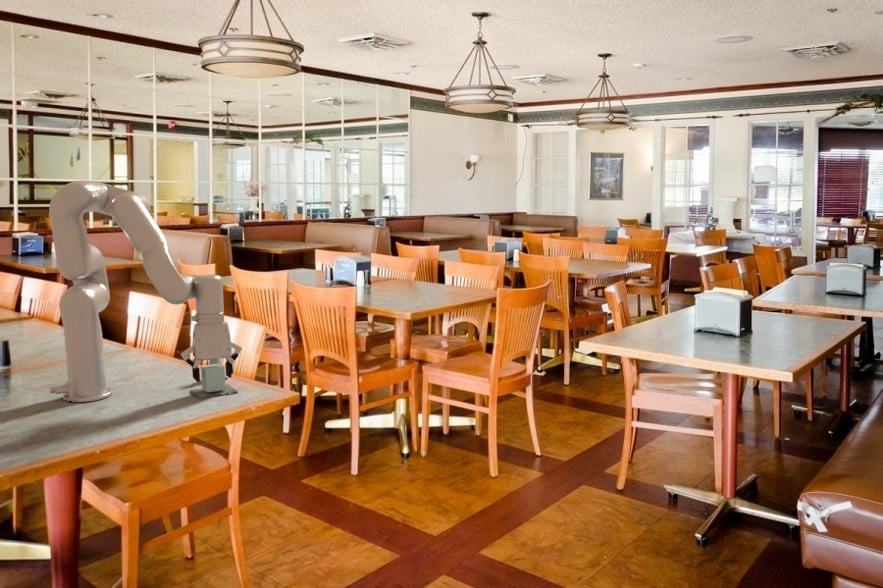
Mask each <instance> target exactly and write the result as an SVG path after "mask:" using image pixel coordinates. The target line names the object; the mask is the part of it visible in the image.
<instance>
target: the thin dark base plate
mask: <svg viewBox="0 0 883 588" xmlns="http://www.w3.org/2000/svg"><path fill="white" fill-rule="evenodd" d="M189 391H190V393H191V394H192V395H194V396H195V397H196V398H197V399H198V400H202V399H207V398H208V399H209V398H213V396H215V397H219V396H218V395H222V396H224V395H223V394H229V393H236V394H239V393H238V392H239V391H237V390H236V389H235V388H233V387H232V386H231V385H229V384H225V390H220V391H213V392H206V391H205V390H203V389H202V387H201V388H195V389H190V390H189ZM229 395H230V394H229Z"/></svg>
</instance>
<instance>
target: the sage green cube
mask: <svg viewBox="0 0 883 588" xmlns="http://www.w3.org/2000/svg"><path fill="white" fill-rule="evenodd" d="M224 367H225V366H224ZM224 367H223V366H222V365H220V364H212V365H209V364H205V365H200V381H201V388H202V389H203V390H205V391H206V392H213V391H220V390H225V385H226V379H225V372H224Z"/></svg>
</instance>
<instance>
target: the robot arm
mask: <svg viewBox="0 0 883 588" xmlns="http://www.w3.org/2000/svg"><path fill="white" fill-rule="evenodd" d="M48 209H49V210H48V213H49V221H50V227H51V232H52V240H53V241H52V242H53V247H54V253H55V258H56V266H57V269H58V272H59V273H60V275H61V276H62V277H63V278H64V279H66V280H70V281H72V284H73V286H70V287H69V288H67V289H66V290H65V291H63V294H62V295H61V297H60V299H59V300H60V301H59V313H60V317H61V321H62V325H63V336H64V345H65V359H66V373H67V380H65V383H62V384H61V385H58V386H57V385H55V386H54V385H53V386H49V394H51V395H52V394H55V395H59V394H62V400H64V401H65V400H66V401H65V402H69V401H72V402H71V403H85V402H94V401H99V400H103V399H106V398H108V397H110V396H112V394H113V389H112V388H110V387H107V383H106V370H105V354H104V341H103V340H104V339H103V331H102V330H103V329H102V325H101V320H100V315H99V313H101V312H103V311H104V310H105V309H106V308H107V307H108V305H109V303H110V299H111V295H110V288H109V286H110V285H109V280H108V275H107V273H108V272H107V268H106V261H105V258H104V256H103V253H102V252H101V251H100V249H99V248H97V246H94V245H93V244H91V243H90V242H89V237H88V229H87V226H86V223H85V220H84V214H85V213H92V212H95V213H99V214H103V215H107V216H109V217H113V219H114V220H115V221H116V223H117V224H118V226H119V228H120V229H121V230H122V232H123V233H124V235H125V236H126V238H127V239H128V241H129V242H130V243H131V245H132V246H133V248H134V250H135V251H136V253H137V255H138V257H139V260H140V263H141V264H142V267H143V269H144V271H145V273H146V275H147V277H148V279H149V281H150V282H151V284H152V285H153V286H154V288H155V289H156V291H157V292H158V293H159V295H160V296H161V297H162V299H163V300H164V301H166V302H167V303H169V304H171V305H176V306H177V305H183V303H185V302H188V301H189V300H195V314H194V315H192V316H190V320H191V322H195V323H194V324H193V325H194V326H193V332H192V345H191V346H189V347H188V348H187V349H185V350H184V351H182V353H181V354H180V356H181V357H182V359H183V360H184V361H185V363H187V364H188V365H189V366H190V367H191V369H192V378H193V379H194V381H195V382H197V383H199V382H201V369H200V368H199V365H200V363H201V361H210V360H212V359H220V358H221V359H225V365H224V366H225V369H226V376H228V379H229V378H232V374H233V373H234V370H233V369H234V366H233V365H234V363H235V361H236V360H237V359H238V357H239V355H240V353H241V351H242V349H243V348H242V346H240V345H238V344H236V343H234V342H232V340H231V338H232V337H231V332H230V326H229V323H228V322H227V321H225V307H224V303H225V302H224V285H223V278H222V277H221V276H220V275H218V274H200V275H199V274H198V275H196V274H188V273H180V272H179V271H178V269H177V268H176V267H175V265H174V263H173V261H172V259H171V257H170V253H169V251H168V242H167V241H168V240H167V237H166V235H165V234H164V232H163V231H162V230H161V228H160V227H159V225H158V223H157V222H156V221H155V219H154V218H153V217H152V214H151V204H150V201H149V199H148V198H146V196H145V195H143V194H142V193H139V192H136V191H131V190H128V189H125V188H121V187H118V186H114V185H110V184H107V183H103V182H100V181H96V180H95V181H94V180H75V181H72V182H71V181H70V182H69V183H67V184H65V185H63V186H62V187H60V188H59V189H58V190H57V191H56V192H55V193H54V195H53V196H52V198H51V200H50V202H49V208H48ZM233 349H234V352H233V351H232V350H233ZM232 352H233V353H232ZM190 354H192V356H193V359H191V358H190V357H189V355H190Z"/></svg>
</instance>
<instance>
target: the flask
mask: <svg viewBox="0 0 883 588" xmlns="http://www.w3.org/2000/svg"><path fill="white" fill-rule="evenodd" d="M208 361H209V362H208V365H212V364H220V365H222V366H223V367H224V372H225V378H227V376H226V366H225V365H224V361H223V360H222V358H220V359H212V360H208ZM227 379H228V378H227Z"/></svg>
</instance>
